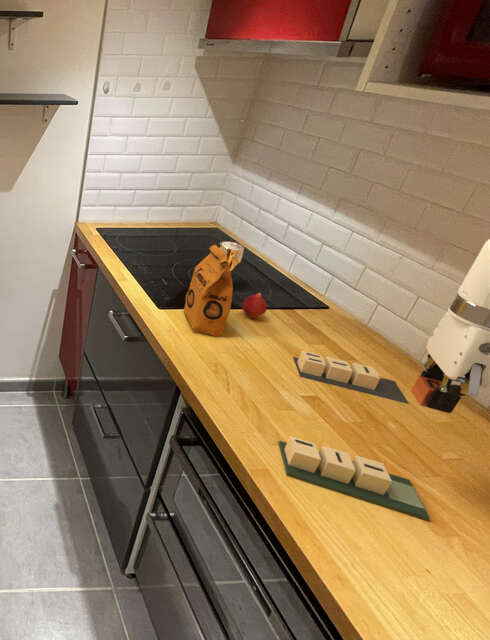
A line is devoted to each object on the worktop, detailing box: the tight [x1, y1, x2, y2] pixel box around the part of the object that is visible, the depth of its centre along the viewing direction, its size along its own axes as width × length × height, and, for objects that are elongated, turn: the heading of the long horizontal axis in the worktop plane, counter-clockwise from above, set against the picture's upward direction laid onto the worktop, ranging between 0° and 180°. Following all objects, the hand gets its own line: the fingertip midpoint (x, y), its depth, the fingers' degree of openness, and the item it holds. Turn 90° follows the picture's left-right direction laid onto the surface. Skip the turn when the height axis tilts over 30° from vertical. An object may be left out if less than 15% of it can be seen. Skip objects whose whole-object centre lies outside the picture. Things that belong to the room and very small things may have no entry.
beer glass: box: [218, 240, 245, 279], centre depth 140 cm, size 7×7×15 cm
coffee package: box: [183, 244, 234, 337], centre depth 120 cm, size 10×12×22 cm
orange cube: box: [410, 375, 442, 408], centre depth 77 cm, size 4×4×4 cm
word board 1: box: [292, 350, 410, 405], centre depth 104 cm, size 20×8×4 cm, turn 65°
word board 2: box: [277, 435, 431, 522], centre depth 80 cm, size 20×8×4 cm, turn 65°
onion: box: [241, 292, 268, 319], centre depth 127 cm, size 6×6×8 cm
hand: (431, 399), depth 78 cm, fingers closed on orange cube, 4 cm apart
